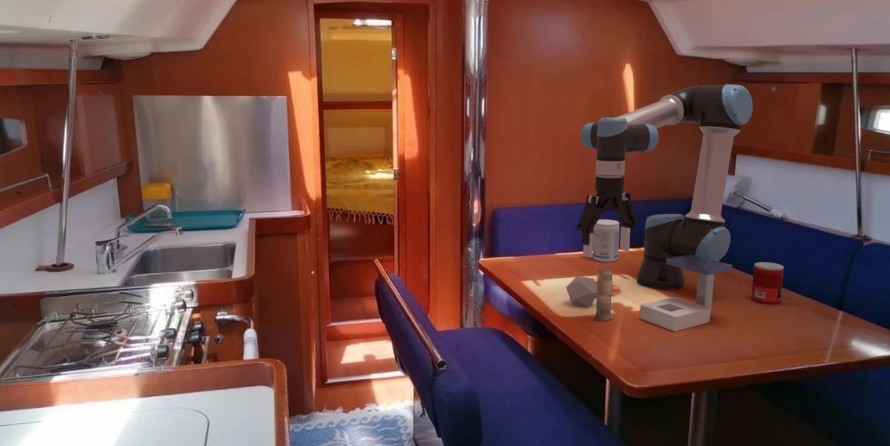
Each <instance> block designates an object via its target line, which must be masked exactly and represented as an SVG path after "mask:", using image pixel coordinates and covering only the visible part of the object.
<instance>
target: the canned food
mask: <svg viewBox="0 0 890 446" xmlns="http://www.w3.org/2000/svg"><path fill="white" fill-rule="evenodd" d="M784 270H785V266H783V265H782V264H781V263H780V264H779V263H776V262H766V261H761V262H755V263H754V265H753V276H752V284H751V285H752V287H751V299H752V300H753V301H754V302H755V303H761V304H766V305H776V304H779V303H780V301H781V299H782V289H783V282H784V281H783V280H784V274H785V273H784V272H785V271H784Z"/></svg>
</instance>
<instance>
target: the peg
mask: <svg viewBox="0 0 890 446" xmlns="http://www.w3.org/2000/svg"><path fill="white" fill-rule="evenodd" d="M613 273H614V271H613V269H611V268H604V267H603V268H598V269H597V275H596V276H597V281H596V282H597V283H596V287H597V298H596V299H595V300H596V301H595V302H596V303H595V320H597V321H600V322H609V321H611V316H612V315H611V314H612V292H613Z"/></svg>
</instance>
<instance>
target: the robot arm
mask: <svg viewBox="0 0 890 446" xmlns="http://www.w3.org/2000/svg"><path fill="white" fill-rule="evenodd" d="M753 107H754V105H753V99H752V96H751V94H750V92H749V90H748V89H747V88H746V87H744V85H740V84H729V83H727V84H709V85H705V84H704V85H703V84H700V85H692V86H689V87H685V88H683V89H679V90H677V91H674V92H672V93H669V94H666V95H664V96H662V97H661V98H660V99H659V101H657V102H654V103H651V104H648V105H646V106H643V107H641V108H638V109H635V110H632V111H629V112H627V113H625V114H621V115H619V116H616V117H601V118H600V119H599V120H598V122H597V121H595V122H589V123H586V124H584V126H583V127H582V129H581V132H580V141H581V143H582V145H583V146H584V147H585V148H587V149H588V148H589V149H592V150H596V159H595V160H596V161H595V175H596V177H595V178H594V179H595V182H594V189H595V190H596V191H595V192H596V195H590V194H588V195H587V196H586V201H585V205H584V208H583V210H582V213H581V215H580V218H579V220H578V223H577V225H576V228H575V229H576V230H577V231H579V232H581V233H582V234H581V235H582V239H581V241H582V242H581V244H582V245H583V247H582V248H583V250H582V251H583V252H582V256H583V257H586V258H590V259H591V258H593V233H592V231H593V229H594V226H595V225H596V223H597V221H598V220H600V219H601V217H602V215H603V214H605V213H606V212H610V211H614V213H615V214H616V215H617V217H618V219H619V221H620V222H621V224H622V225H623V226H621V227H620V236H619V250H620V251H624V252H630V239H631V237H632V229H634V228H635V226H636V225H638V219H637V216H636V213H635V210H634V209H635V208H634V206H633V203H632V200H631V199H632V198H631V197H632V196H631V193H630V192H627V191H624V190H625V178H624V176H625V172H626V171H625V170H626V158H627V156H626V154H627V153H645V152H649V151H652V150H653V149H655V148H656V146H657V145H658V143H659V139H660V138H659V137H660V136H659V132H658V128H662V127H664V126H667V125H668V126H669V125H670V126H675V125H678V124H682V123H692V124H693V123H695V124H699V126H698V128H699V130H700V131H701V132H702V136H703V137H702V140H701V148H700V153H699V159H698V165H697V172H696V179H695V184H694V189H693V190H694V191H693V197H692V203H691V209H690V211H689V212H688V213H686V214H685V215H683V214H681V213H663V214H662V213H660V214H655V215H654V214H653V215H650V216H647V217H646V220H645V226H644V239H643V240H644V244H643V260H642V262H641V265H640V267H639V271H638V272H637V275H636V282H637V284H639V285H641V286H644V287H646V288H651V289H657V290H678V289H682V288H684V287H685V285H686V278H685V275H684V269H682V268H679V267H675V266H671V265H668V264H666V259H669V258H674V257H680V256H685V255H694V256H698V257H702V258H706V259H710V260H714V261H718V262H720V261H721V259H723V257H724V256H725V255H726V254H727V252H728V250H729V247H730V244H731V233H730V231H729V229H727V228H726V227H725V223H726V222H725V221H726V220H725V219H724V218H723V217H722V211H723V209H722V208H723V204H724V198H725V192H726V191H725V189H726V183H727V178H728V173H729V167H730V162H731V161H730V160H731V155H732V149H733V143H734V137H735V136H736V135H737V134H739V133H740V132H741V128H742V126H743V125H745V124H747V123H748V122H749V121H750V119H751V118H752V114H753V111H754V109H753Z"/></svg>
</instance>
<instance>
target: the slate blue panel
mask: <svg viewBox="0 0 890 446" xmlns="http://www.w3.org/2000/svg"><path fill="white" fill-rule="evenodd" d="M666 264H668V265H671V266H675V267H679V268H682V270H687V271H690V272H693V273H694V272H695V273H697V281H696V282H697V283H696V296H695V297H696V298H695V303H696V304H699V305H702V306H705V307H708V308H711V309H710V315H711V314H712V307H713V294H714V293H713V291H714V284H715V283H714V282H715V281H714V280H715V275H718V274H722V273H726V272H731V271H733V265H732V264H730V263H725V262H722V261H714V260H710V259H706V258H702V257H698V256H694V255H685V256H680V257H674V258H669V259H666Z"/></svg>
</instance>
